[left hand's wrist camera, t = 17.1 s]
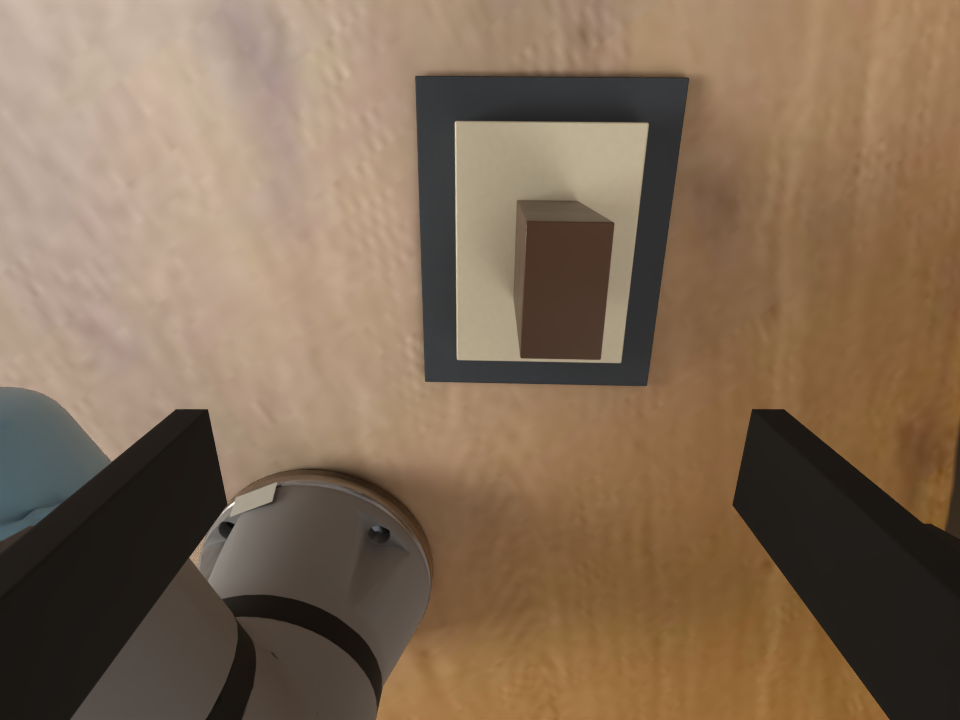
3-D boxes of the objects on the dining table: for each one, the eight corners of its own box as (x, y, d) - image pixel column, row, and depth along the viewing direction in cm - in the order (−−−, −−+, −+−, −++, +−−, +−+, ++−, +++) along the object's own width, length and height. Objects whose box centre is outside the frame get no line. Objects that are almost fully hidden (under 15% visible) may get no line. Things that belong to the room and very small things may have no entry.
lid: (615, 354, 30) (669, 444, 21) (458, 351, 30) (441, 439, 21) (641, 123, 26) (724, 107, 16) (456, 122, 26) (434, 105, 16)
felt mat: (645, 383, 31) (646, 386, 31) (425, 379, 31) (425, 381, 31) (686, 78, 25) (689, 77, 25) (416, 77, 25) (415, 76, 25)
